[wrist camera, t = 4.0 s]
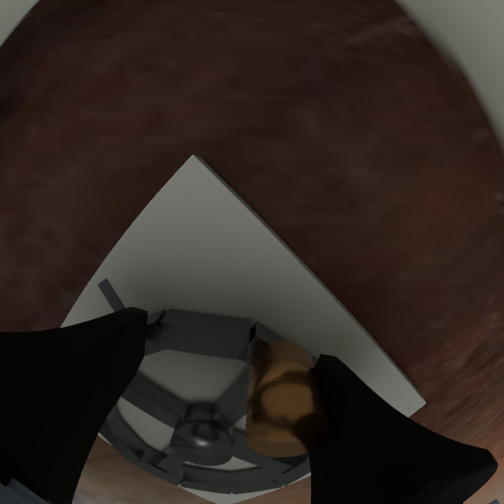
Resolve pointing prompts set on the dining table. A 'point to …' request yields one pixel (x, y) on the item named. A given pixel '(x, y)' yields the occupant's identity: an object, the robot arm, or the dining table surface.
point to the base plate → (224, 303)
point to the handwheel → (229, 408)
